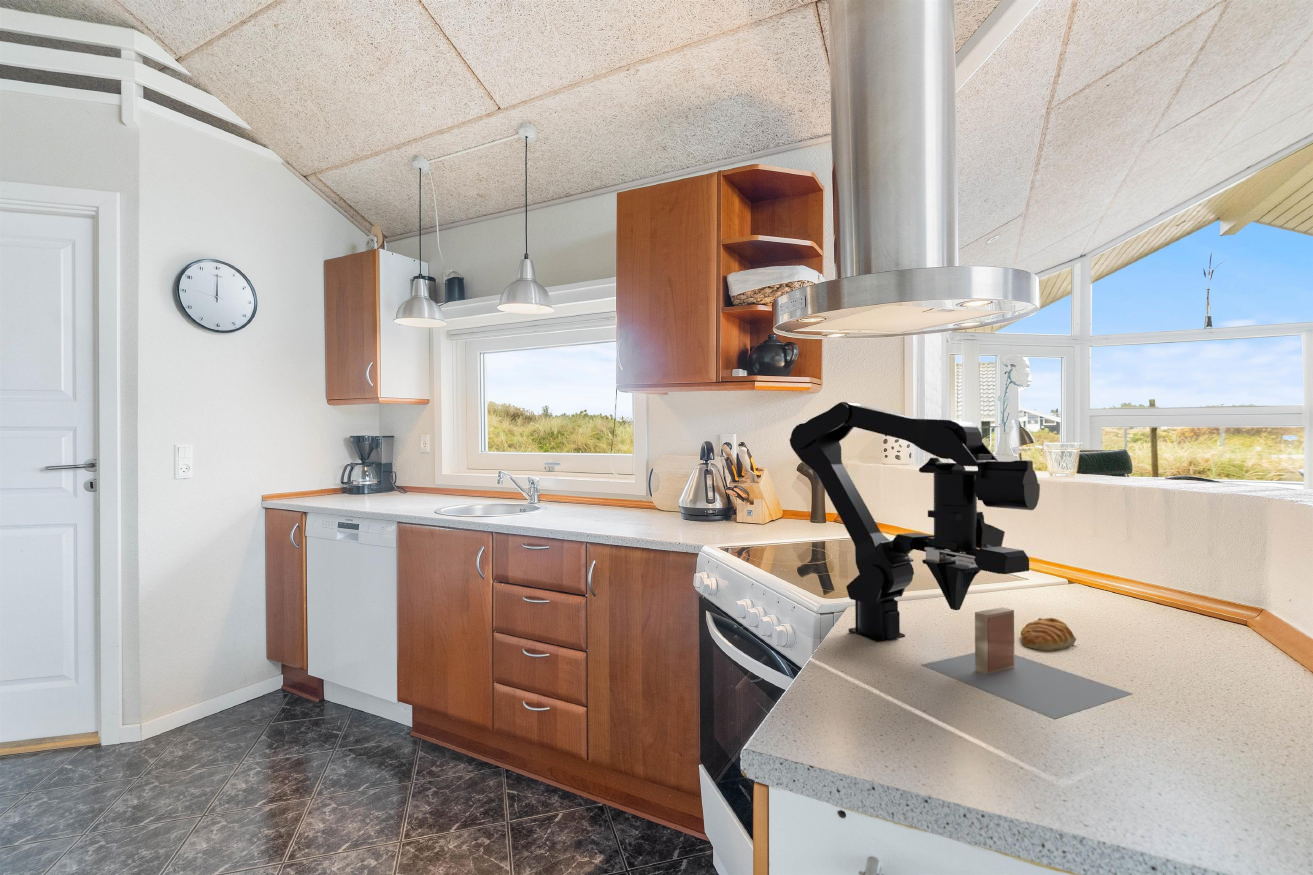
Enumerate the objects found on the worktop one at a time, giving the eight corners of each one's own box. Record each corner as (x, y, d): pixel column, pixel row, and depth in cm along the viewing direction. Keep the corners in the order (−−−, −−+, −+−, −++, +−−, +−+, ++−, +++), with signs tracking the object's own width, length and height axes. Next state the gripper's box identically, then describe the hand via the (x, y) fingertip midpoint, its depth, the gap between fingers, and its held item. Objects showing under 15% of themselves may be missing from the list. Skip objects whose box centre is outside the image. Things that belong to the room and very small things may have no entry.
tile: (975, 670, 79) (974, 612, 79) (1003, 663, 82) (1002, 607, 82) (987, 674, 78) (986, 615, 78) (1015, 667, 80) (1014, 610, 80)
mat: (920, 667, 81) (920, 664, 81) (994, 650, 88) (994, 647, 88) (1054, 722, 65) (1054, 718, 65) (1132, 696, 72) (1132, 693, 72)
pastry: (1060, 659, 85) (1060, 633, 85) (1009, 647, 90) (1009, 623, 90) (1078, 645, 91) (1077, 621, 91) (1029, 635, 96) (1029, 612, 96)
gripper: (1053, 508, 81) (1054, 620, 80) (938, 497, 97) (938, 589, 97) (1002, 511, 76) (1002, 630, 76) (890, 499, 93) (890, 596, 92)
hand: (955, 609), depth 85 cm, fingers closed
